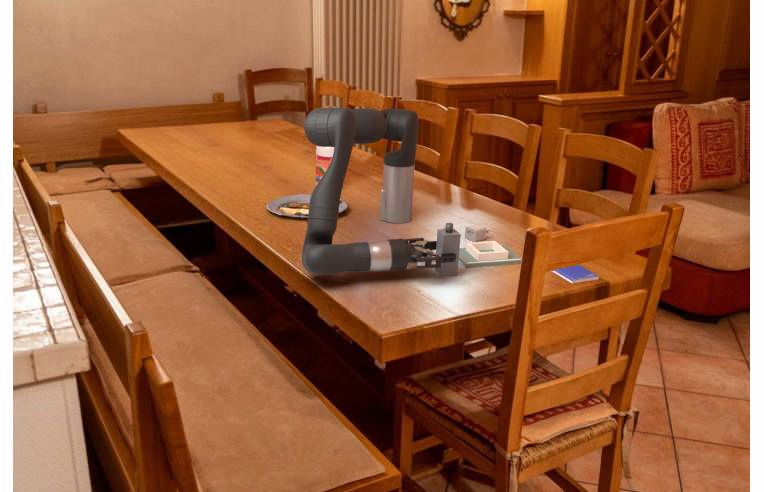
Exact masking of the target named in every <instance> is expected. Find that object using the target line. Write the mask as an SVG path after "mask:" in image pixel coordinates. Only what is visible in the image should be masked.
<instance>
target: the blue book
mask: <svg viewBox="0 0 764 492" xmlns="http://www.w3.org/2000/svg"><path fill="white" fill-rule="evenodd" d="M551 272H552V273H554V274H556V275H558V276H559V277H561V278H563V279H564V280H566V281H567V282H569V283H571V284H577V283H583V282H584V283H585V282H589V281H590V282H591V281H596V280H599V279H600V276H599V274H596V273H594V272H592V271H591V270H589V269H588V268H585V267H583V266H581V265H580V264H578V265H576V266H571V267H566V268H561V269H557V270H554V271H551Z"/></svg>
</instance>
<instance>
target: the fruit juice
mask: <svg viewBox="0 0 764 492" xmlns="http://www.w3.org/2000/svg"><path fill="white" fill-rule="evenodd" d="M322 108H338V107H337V106H333V105H325V106H322ZM333 153H334V147H320V146H316V145H315V186H316V185H317V184H318V182H319V181H320V179H321V178H322V177H323V175H324V174H325V172H326V170H327V169H328V167H329V165H330V163H331V160H332V157H333Z"/></svg>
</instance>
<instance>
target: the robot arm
mask: <svg viewBox="0 0 764 492" xmlns="http://www.w3.org/2000/svg"><path fill="white" fill-rule="evenodd" d="M419 122H420V121H419V115H418V113H417V112H416V110H415V111H414V110H410V109H401V108H392V107H391V108H386V109H381V110H379V109H375V108H368V107H367V108H365V107H364V108H363V107H361V108H354V109H350V108H348V107H337V108H323V107H317V108H315V109H312V111H310V112H309V113H308V115H307V116H306V118H305V120H304V126H303V127H304V128H303V130H304V133H305V137H306V138H307V140H308V141H309V142H310V143H311V144H313V145H314V146H315V147H316V146H320V147H334V153H333V157H332V160H331V163H330V165H329V167H328V169H327V170H326V172H325V174H324V175H323V177H322V178H321V179H320V181H319V182H318V184H317V185H316V184H315V187H314V188H313V191H312V192H311V198H310V203H308V204H309V212H308V217H307V225H306V227H307V229H306V233H305V236H304V242H303V247H302V251H301V252H302V253H301V263H302V267H303V269H304V270H305V271H306V272H308V273H309V274H311V275H316V276H324V275H325V276H326V275H333V274H334V275H335V274H342V273H346V272H349V273H359V272H360V273H362V272H387V271H388V272H390V271H402V270H405V269H407V267H408V265H410V263H411V264H416V269H419V270H421V269H435V268H441V263H449V262H455V261H456V254H455V253H441V254H439V253H436V252H434V251H436V243H437V240H428V239H425V238H424V237H415V238H414V237H413V238H389V239H376V240H370V241H360V242H359V241H357V242H349V243H346V244H343V243H341V244H340V243H338V244H337V243H336V244H335V243H334V244H333V237H334V236H335V233H336V231H337V227H338V221H339V214H338V213H339V203H340V199H341V195H342V191H343V188H344V187H343V185H344V182H345V178H346V175H347V172H348V167H349V165H350V159H351V155H352V153H353V148H354V145H355V144H359V145H367V144H374V143H375V144H376V143H377V142H379V141H381V140H382V139H384V140H388V141H393V142H394V141H395V142H400V143H401V146H400V148H398V149H394V150H391V151H388V152H385V153H384V154H383V155H384V156H383V166H382V167H383V169H382V170H383V171H382V188H381V190H380V191H381V193H380V195H381V196H380V221H383V222H388V223H391V224H404V223H409V222H411V221H412V219H413V218H412V217H413V198H414V184H415V183H414V182H415V179H414V177H415V161H416V160H415V159H416V154H417V145H418V134H419V124H420V123H419ZM435 260H436V261H435Z"/></svg>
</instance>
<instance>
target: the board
mask: <svg viewBox="0 0 764 492" xmlns="http://www.w3.org/2000/svg"><path fill="white" fill-rule="evenodd" d="M521 259H523V258H521V257H520V256H519V255H518V254H517V253H515V252H514V251H513V250H512V249H510V248H509V246H507V245H505V244H504V245H501V244H499V243H498V242H497V241H495V240H492V241H491V240H490V241H489V240H488V241H478V242H471V241H470V242H466V243H465V247H460V250H459V261H460V262H461V263H460V262H459V263H460V264H461V265H462V266H463V267H464V268H465V269H467V268H468V269H469V268H478V267H479V268H480V267H481V268H482V266H483V267H493V265H496V266H503V265H502V264H510V265H516V264H515V263H518V264H517V265H520V264H521ZM519 263H520V264H519ZM521 265H522V264H521Z"/></svg>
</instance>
